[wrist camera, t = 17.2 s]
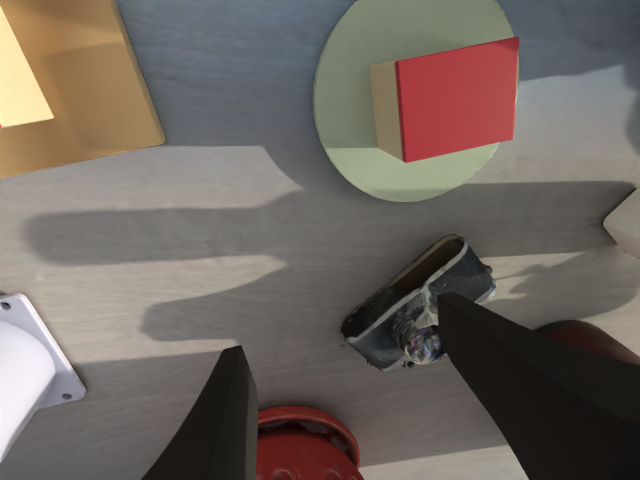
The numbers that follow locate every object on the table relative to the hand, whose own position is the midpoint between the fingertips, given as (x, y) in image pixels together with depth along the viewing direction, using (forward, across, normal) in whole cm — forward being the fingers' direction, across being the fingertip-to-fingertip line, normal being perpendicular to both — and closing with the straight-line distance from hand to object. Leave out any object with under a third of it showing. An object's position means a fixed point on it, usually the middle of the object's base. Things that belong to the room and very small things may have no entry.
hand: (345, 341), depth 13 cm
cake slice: (+9, -7, -7) cm, 13 cm away
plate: (+9, -7, -6) cm, 13 cm away
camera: (+10, -6, +6) cm, 13 cm away
